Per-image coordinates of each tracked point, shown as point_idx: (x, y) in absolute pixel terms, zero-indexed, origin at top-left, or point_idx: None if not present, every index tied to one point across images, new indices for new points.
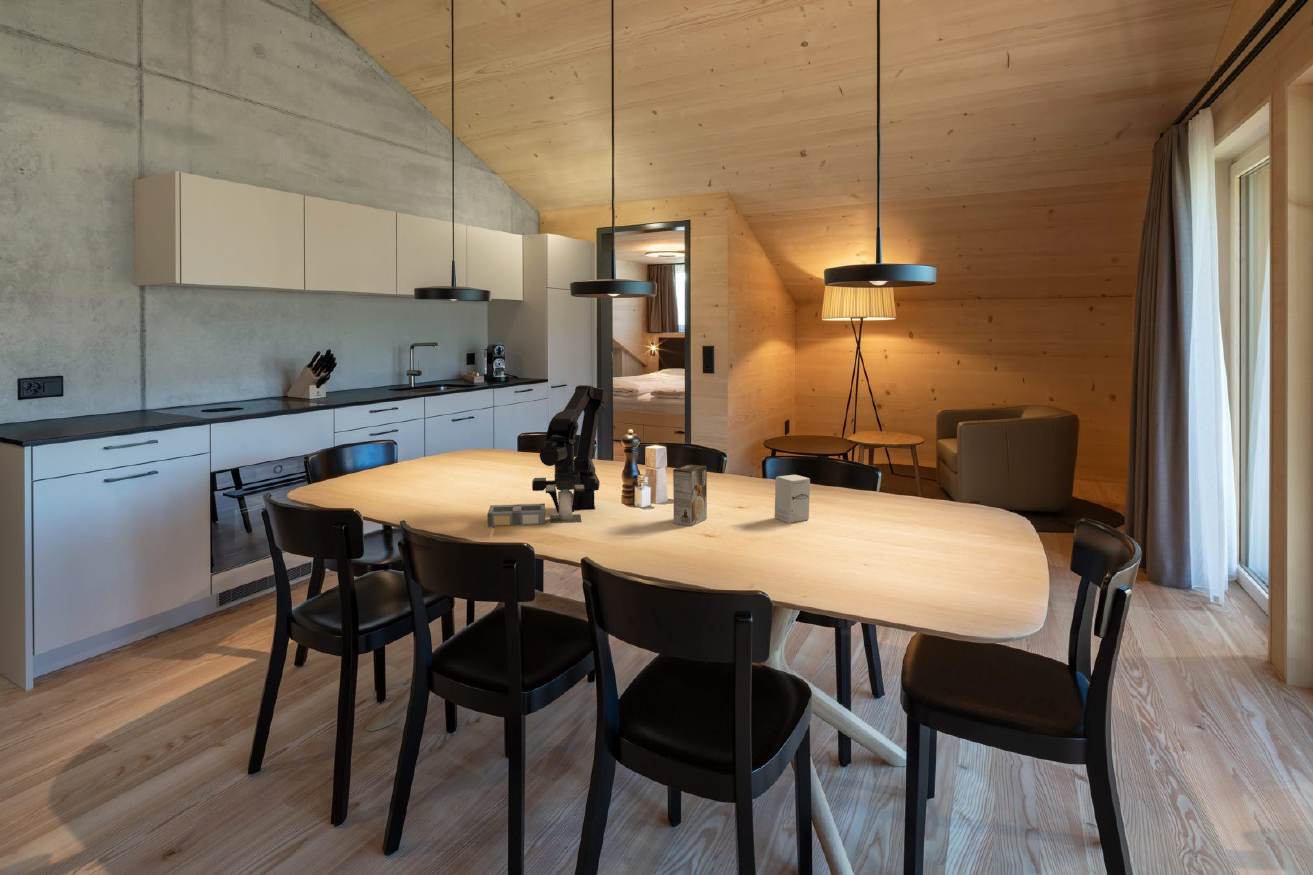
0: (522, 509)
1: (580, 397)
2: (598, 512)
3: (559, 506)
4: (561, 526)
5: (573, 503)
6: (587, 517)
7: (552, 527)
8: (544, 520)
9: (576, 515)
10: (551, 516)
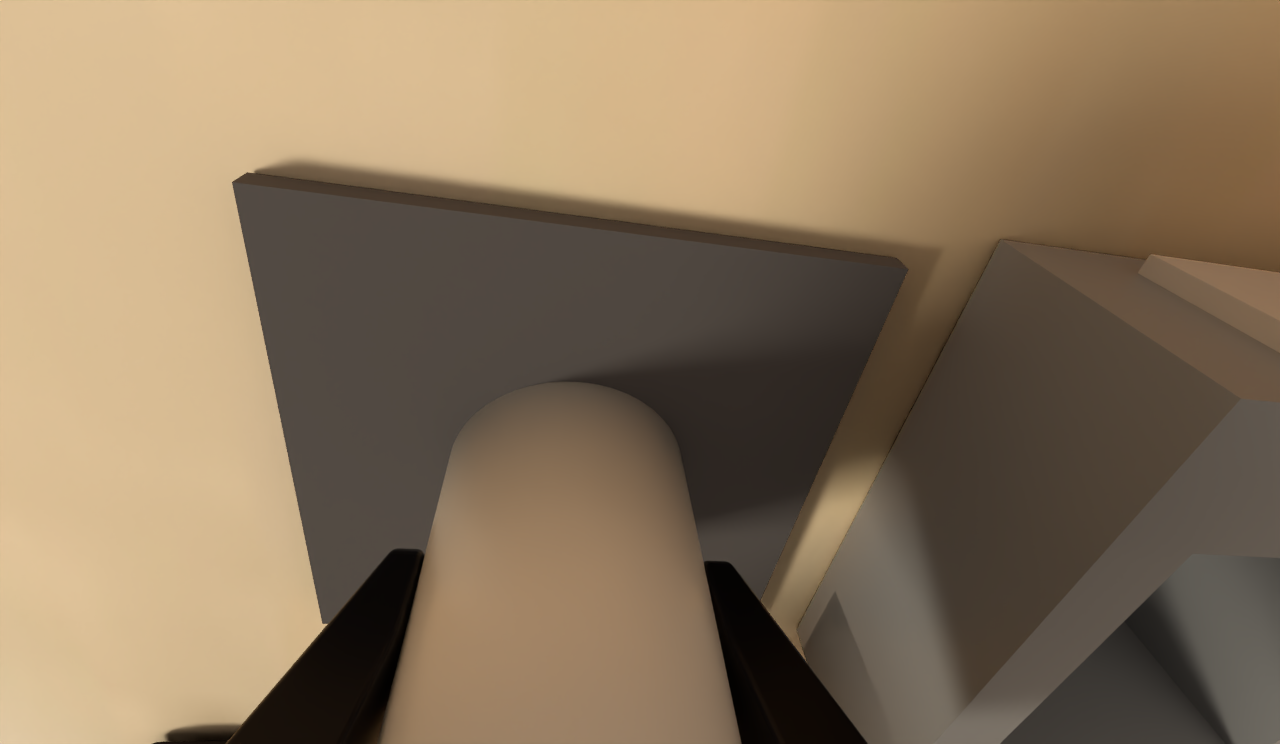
0: (1187, 706)
1: None
2: (74, 679)
3: (722, 663)
4: (729, 49)
5: (319, 738)
6: (196, 517)
7: (941, 25)
8: (1068, 281)
9: None
10: None
